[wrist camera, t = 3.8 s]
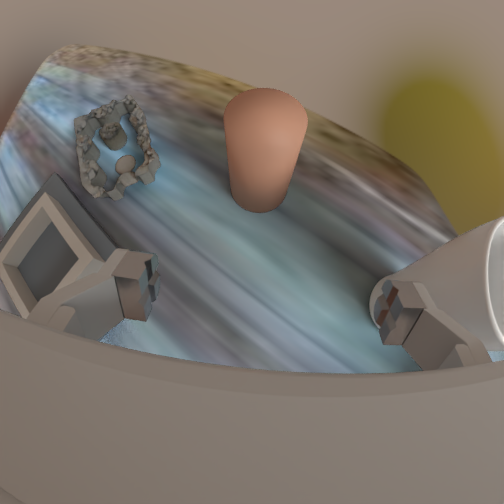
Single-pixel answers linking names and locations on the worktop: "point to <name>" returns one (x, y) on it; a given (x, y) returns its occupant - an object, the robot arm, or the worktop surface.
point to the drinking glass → (464, 281)
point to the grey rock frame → (113, 147)
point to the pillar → (262, 146)
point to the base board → (51, 246)
